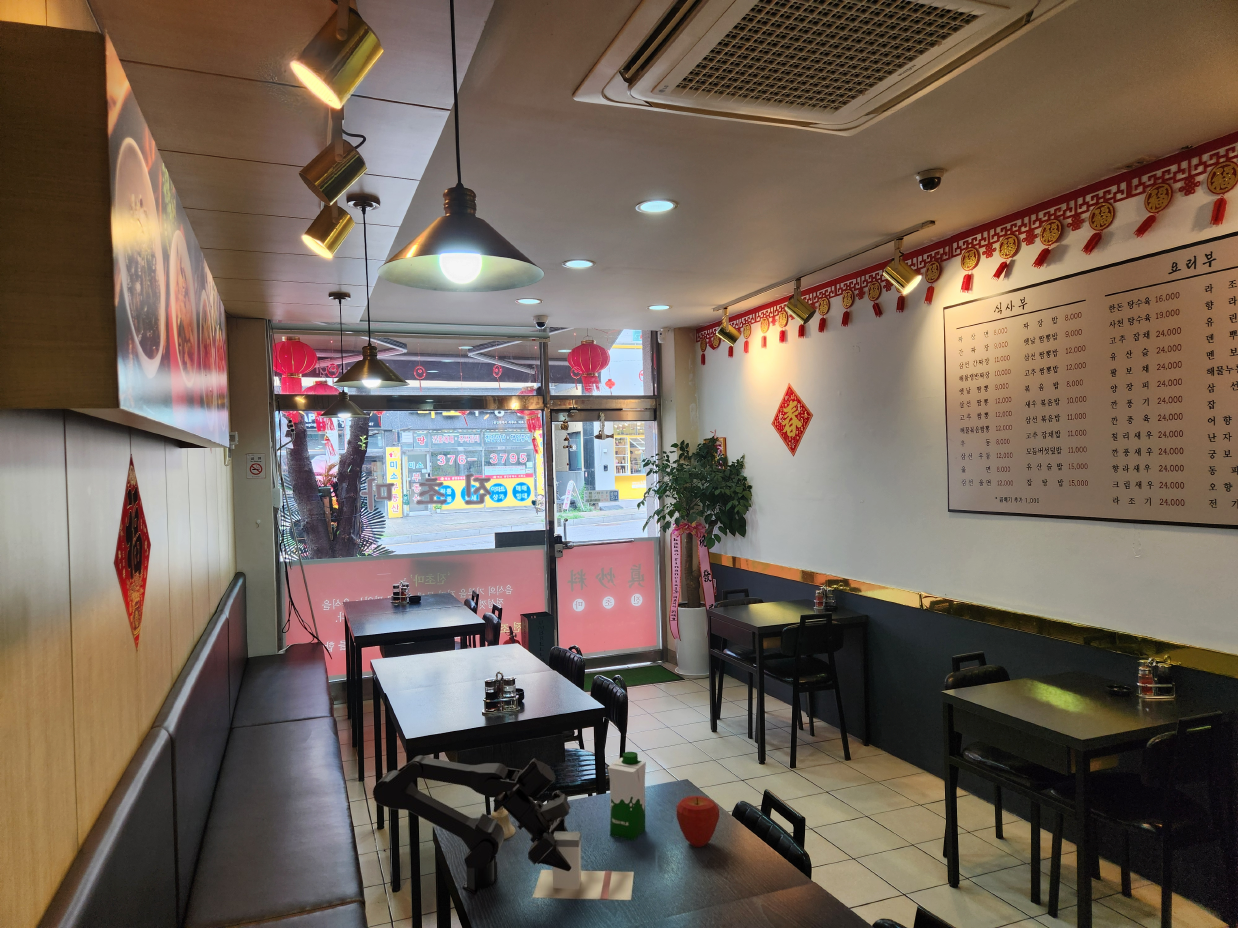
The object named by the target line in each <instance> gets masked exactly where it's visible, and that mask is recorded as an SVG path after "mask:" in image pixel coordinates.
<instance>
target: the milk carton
mask: <svg viewBox="0 0 1238 928" xmlns="http://www.w3.org/2000/svg"><path fill="white" fill-rule="evenodd" d="M638 758H639V757H638V752H635V751H626V752H622V757H620V758H618V759H617V760H616V761H614V762H612V763H611V765H609V766H607V771H608V776H609V797H610V798H609V802H610V804H609V807H610V817H609V818H610V819H609V823H610V824H609V825H610V826H609V836H611V837H616V838H619V839H624V840H627V841H632V842H633V841H635V840H636V839H637V838H639V836H641V834H642V833H643V832H644V831H646V767H647V765H646V761H642V760H639V759H638Z"/></svg>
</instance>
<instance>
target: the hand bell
mask: <svg viewBox="0 0 1238 928" xmlns="http://www.w3.org/2000/svg"><path fill="white" fill-rule="evenodd" d="M503 793H504V792H503ZM503 793H502V794H503ZM502 794H500V795H499V796H501V795H502ZM490 814H491V815H490V816H491V817H490V818H492V819H494V820H498V822H497V823H498V824H500V825H501V826H502V827H503V830H504V840H506V839H509V838H511V837H513V836H514V835H515V834H516V828H515V826H513V825H512V823H511V821H510V816H509V815H510V814H509V813H508V812H507V811H506V810H505V809H504V808H503V807H501V808H500V809H499V810H498V811H497V812H494V810H492V811H491V813H490Z"/></svg>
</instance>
